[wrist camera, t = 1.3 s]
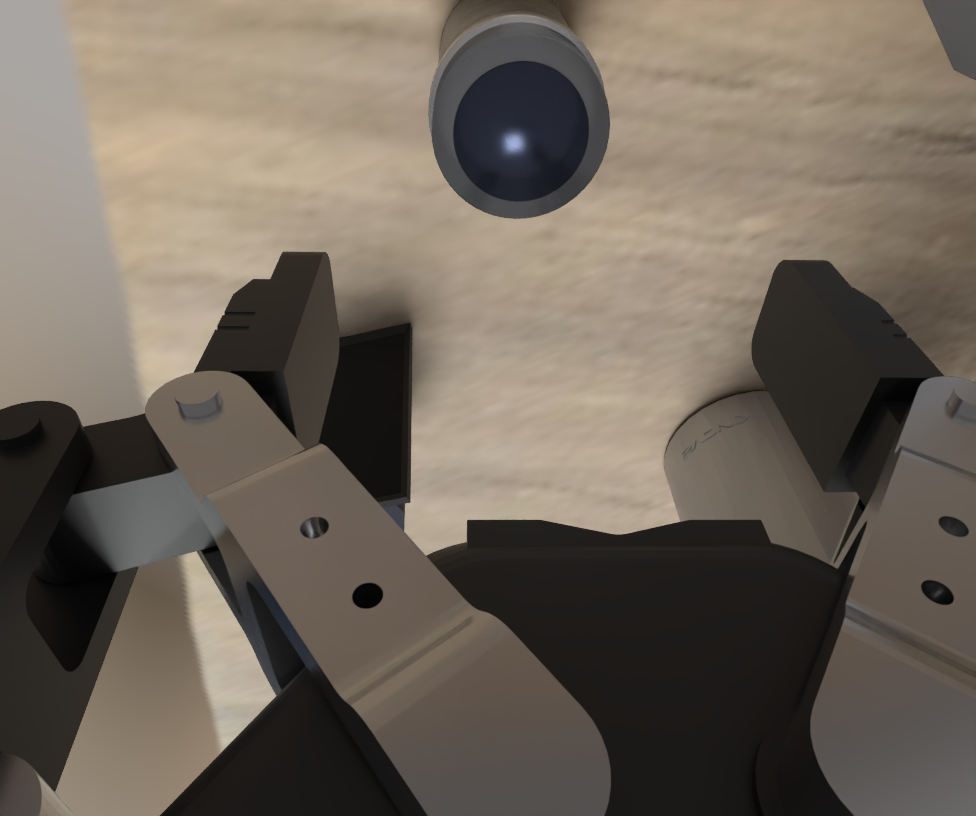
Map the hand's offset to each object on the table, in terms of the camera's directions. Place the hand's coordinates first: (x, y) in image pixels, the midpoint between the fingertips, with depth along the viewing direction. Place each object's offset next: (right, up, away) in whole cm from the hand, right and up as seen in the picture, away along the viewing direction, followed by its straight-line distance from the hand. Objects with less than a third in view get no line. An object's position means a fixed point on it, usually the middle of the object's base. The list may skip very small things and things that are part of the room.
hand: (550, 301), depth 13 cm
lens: (0, +11, +14) cm, 18 cm away
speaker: (-7, -1, +24) cm, 25 cm away
